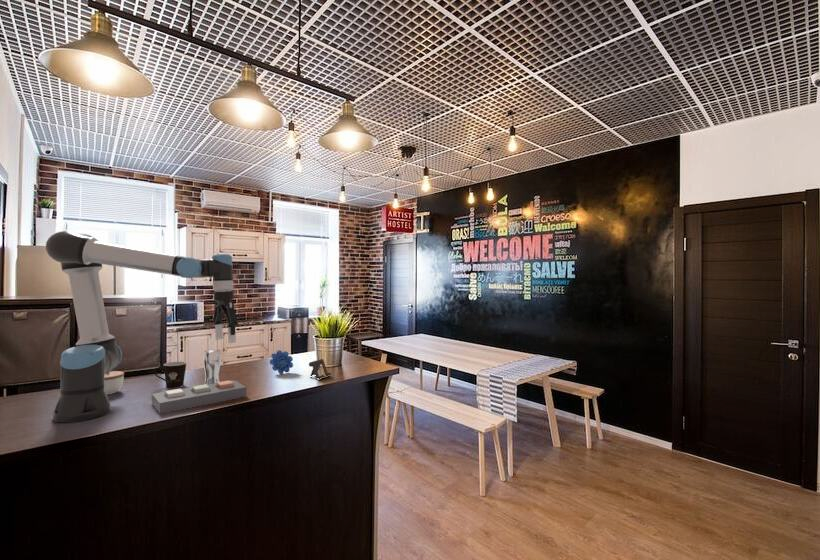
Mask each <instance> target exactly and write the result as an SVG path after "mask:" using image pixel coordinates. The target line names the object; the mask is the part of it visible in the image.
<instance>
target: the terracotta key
mask: <svg viewBox="0 0 820 560" xmlns="http://www.w3.org/2000/svg"><path fill="white" fill-rule="evenodd" d="M229 387H234V383H233V382H231V380H224V381H219V382H217V388H219V389H223V388H229Z"/></svg>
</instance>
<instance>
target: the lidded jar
mask: <svg viewBox="0 0 820 560" xmlns="http://www.w3.org/2000/svg"><path fill="white" fill-rule="evenodd" d="M124 376H125V372H124V371H122V370H121V371H119V370H118V371H117V370H112V371H111V372H108V373H106V374H105V375H104V390H105V393H106V395H107V396H108V394H110V395H113V393H114V394H116V393H117V392H118V391H119V390H120V389H121V387H122V386H123V384H124V380H125V379H124V378H125V377H124ZM115 392H116V393H115Z"/></svg>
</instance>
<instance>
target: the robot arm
mask: <svg viewBox="0 0 820 560" xmlns="http://www.w3.org/2000/svg"><path fill="white" fill-rule="evenodd" d="M45 250H46V254H47V255H48V257H50V258H51V259H52V260H54V261H55V262H58V263H60V266H61V271H62V272H63V273H64V274H67V276H68V278H69V279H68V280H69V285H70V290H71V294H72V301H73V306H74V312H75V313H74V314H75V317H76V323H77V328H78V329H77V330H78V334H79V339H78V340H77V342H76V343H75V346H73V347H70V348H67V349H65V350H63V352H62V353H61V355H60V359H59V364H60V366H59V367H60V369H59V370H60V371H59V372H60V375H59V376H60V380H59V381H60V383H59V384H60V388H59V389H60V391H59V393H60V396H59V398H58V401H57V403H56V405H55V408H54V410H53V413H52V420H53V422H56V423H62V424H63V423H64V424H65V423H66V424H67V423H76V422H83V421H88V420H92V419H96V418H99V417H102V416H104V415H107V414H108V413H110V412H111V403H110V400H109V397H108V395H106V393H105V390H104V375H105V374H106V373H108V372H111V371H114V370H115V369H116V368H117V367H118V366H119V364H120V363H121V360H122V357H123V352H122V349H121V347H120V346H119V345H117V342H116V337H115V335H113V334H110V333H109V332H110V331H109V324H108V320H107V314H106V309H105V304H104V296H103V292H102V286H101V280H100V274H99V273H100V271H101V270H102V269H103V265H106V266H107V265H108V266H112V267H113V266H114V267H119V268H125V269H131V270H132V269H133V270H139V271H145V272H152V273H158V274H164V275H169V276H170V275H171V276H176V277H180V278H182V279H183V278H184V279H192V278H193V279H195V278H213V279H212V283H213V284H212V287H213V288H212V289H213V291H214V292H213V300H214V301H215V302H214V309H213V315H212V316H213V317H212V323H213V324H214V330H215V331H214V333H215V335H214V336H215V337H214V338H215V340H216V341H217V340H223V338H224V336H223V334H224V333H223V332H224V331H223V318H224V317H225V319H226V322H227V326H226V328H227V336H228V337H227V341H228V344H233V343H236V342H237V335H236V334H237V333H236V327H237V326H238V325H239V322H238V319H237V314H236V310H235V303H234V302H231V301H233V300H234V299H235V298H234V297H235V295H234V293H235V292H234V284H235V282H234V274H233V273H234V267H233V266H234V265H233V256H232V255H230V254H226V253H215V254H212V257H211V258H208V259H205V258H204V259H203V258H197V259H196V258H195V257H194V258H193V257H189V256H182V255H176V254H171V253H164V252H159V251H154V250H149V249H142V248H137V247H130V246H125V245H120V244H119V245H118V244H112V243H108V242H101V241H100V240H98V239H96V238H95V237H94V236H92V235H90V234H86V233H80V232H77V231H76V232H75V231H70V230H62V231H57V232H55V233H53V234H52V235H50V236H49V237H48V239H47V240H46V243H45Z"/></svg>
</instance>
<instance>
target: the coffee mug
mask: <svg viewBox="0 0 820 560" xmlns="http://www.w3.org/2000/svg"><path fill="white" fill-rule="evenodd" d="M186 367H187V361H170V362H166V363H164V364H163V367H161V366H158V367H156V368H154V369H153V374H154V375H155V376H156V377H157V378H158V379H160V380H162V381H164V382H165V388H166V387H167V388H166V389H178V388H182V387H183V386H184V383H185V376H186V369H187V368H186ZM156 370H162V371H163V372H164V377H161V376H159V375H158V374H157V373H156ZM181 386H182V387H181ZM177 387H178V388H177Z"/></svg>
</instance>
